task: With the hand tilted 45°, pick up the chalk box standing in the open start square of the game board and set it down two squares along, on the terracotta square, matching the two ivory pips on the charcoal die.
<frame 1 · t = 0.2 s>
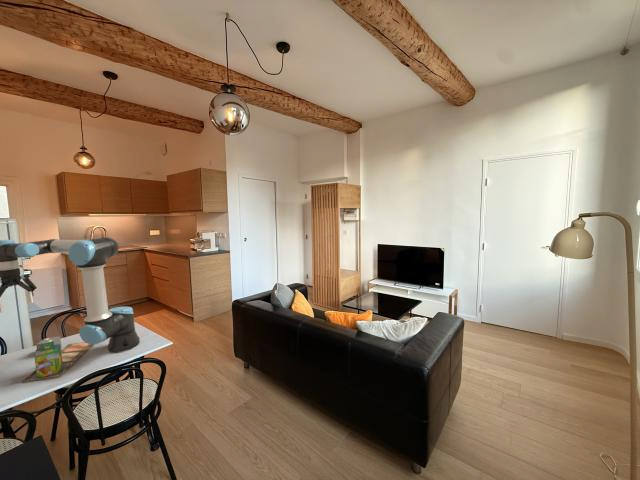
hand: (16, 307, 147), 28 cm above the table, tool pointing down, fingers open, 13 cm apart
chalk box: (51, 371, 136), resting in board
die: (50, 351, 154), on the table
board: (65, 359, 146), on the table
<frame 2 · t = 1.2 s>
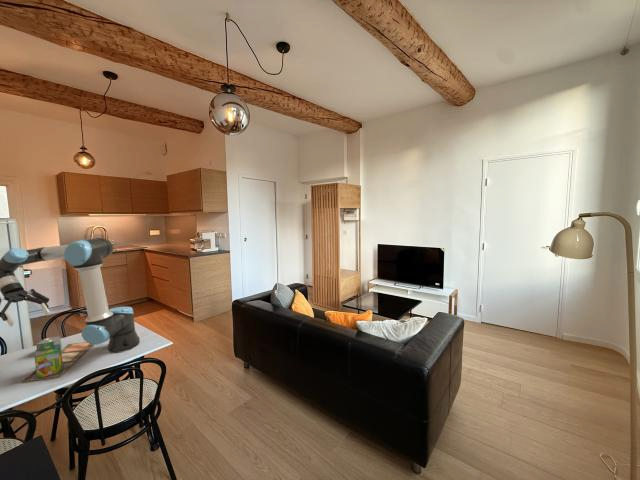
hand: (31, 319, 136), 26 cm above the table, tool tilted 45°, fingers open, 13 cm apart
nothing on the table moved.
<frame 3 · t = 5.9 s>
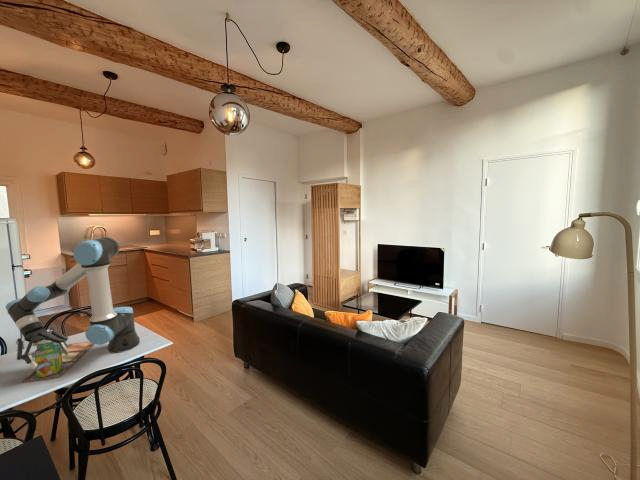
hand: (52, 360, 134), 6 cm above the table, tool tilted 45°, fingers closed on chalk box, 12 cm apart
chalk box: (51, 371, 136), resting in board, touching gripper
when the fingers open (9 cm above the table, at t = 12.5 s): chalk box drops 1 cm, resting on board.
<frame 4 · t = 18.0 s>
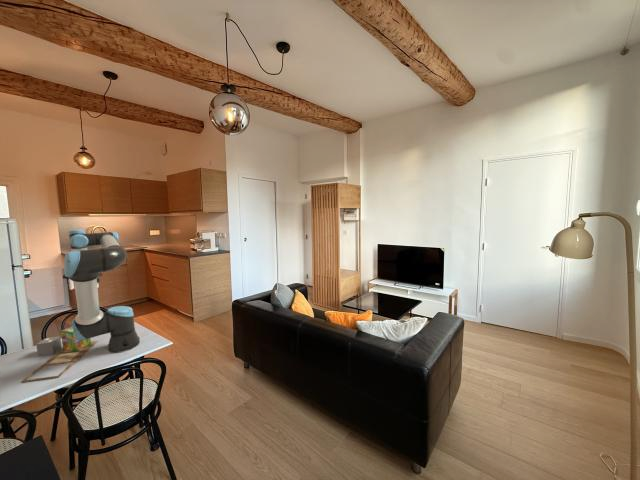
hand: (84, 288, 169), 31 cm above the table, tool pointing down, fingers open, 13 cm apart
chalk box: (77, 347, 157), point 1 cm above the table, touching board
at the end: chalk box 0.2 cm from the target spot on the board, point 0.8 cm above the board's base; chalk box tilted 0°; the gripper is holding nothing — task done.
